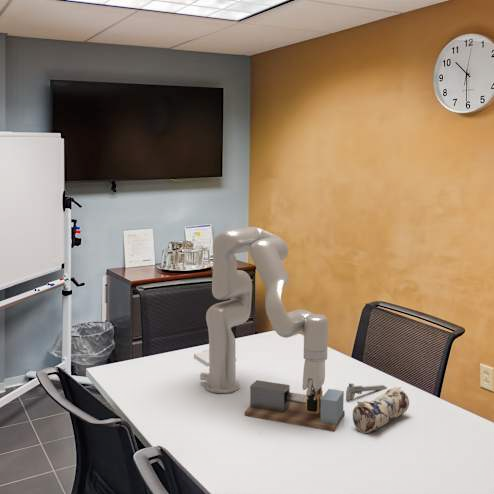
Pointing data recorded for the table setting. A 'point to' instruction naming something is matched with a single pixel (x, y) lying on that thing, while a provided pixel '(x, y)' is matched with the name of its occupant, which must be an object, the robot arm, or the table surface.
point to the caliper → (360, 390)
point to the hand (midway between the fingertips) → (314, 407)
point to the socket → (332, 406)
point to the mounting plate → (204, 357)
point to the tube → (304, 399)
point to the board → (294, 416)
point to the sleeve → (269, 396)
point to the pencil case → (380, 410)
